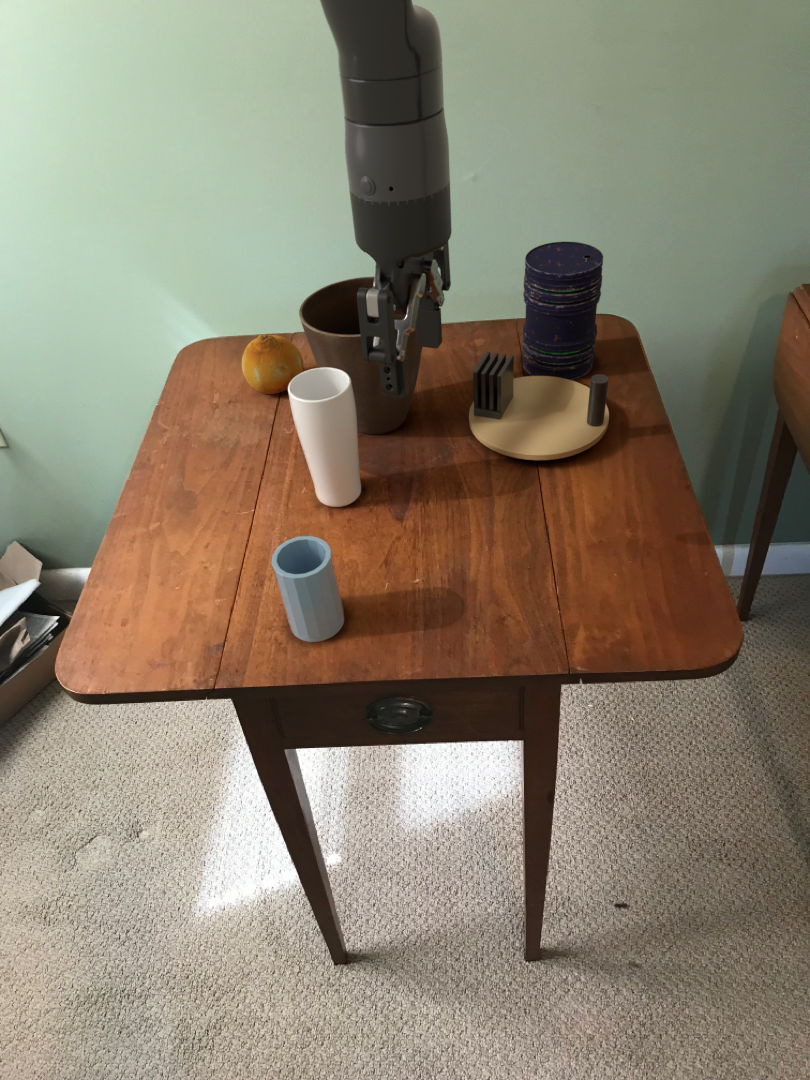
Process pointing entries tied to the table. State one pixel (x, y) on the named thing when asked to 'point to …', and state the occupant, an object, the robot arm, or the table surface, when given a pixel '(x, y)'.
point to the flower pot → (356, 353)
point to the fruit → (271, 363)
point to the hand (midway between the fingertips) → (413, 369)
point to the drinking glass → (328, 432)
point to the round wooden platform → (535, 411)
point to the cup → (309, 588)
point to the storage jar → (561, 309)
